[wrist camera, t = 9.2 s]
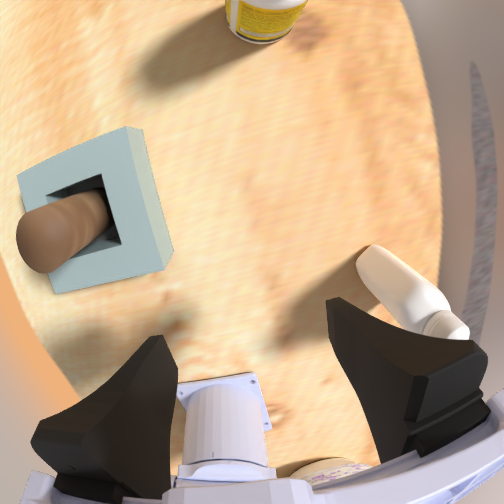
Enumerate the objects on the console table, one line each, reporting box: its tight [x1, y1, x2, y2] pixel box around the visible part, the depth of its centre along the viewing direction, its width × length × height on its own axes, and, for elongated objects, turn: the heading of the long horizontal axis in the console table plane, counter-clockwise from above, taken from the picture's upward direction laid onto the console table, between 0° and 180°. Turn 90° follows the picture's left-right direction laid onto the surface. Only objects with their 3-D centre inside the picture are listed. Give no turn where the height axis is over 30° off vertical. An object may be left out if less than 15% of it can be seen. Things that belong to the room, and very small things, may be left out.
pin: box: [16, 187, 115, 273], centre depth 15 cm, size 3×3×8 cm
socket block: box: [17, 126, 174, 294], centre depth 18 cm, size 9×9×4 cm
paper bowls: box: [289, 458, 372, 486], centre depth 31 cm, size 15×15×8 cm
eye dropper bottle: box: [356, 244, 469, 340], centre depth 17 cm, size 4×6×12 cm
